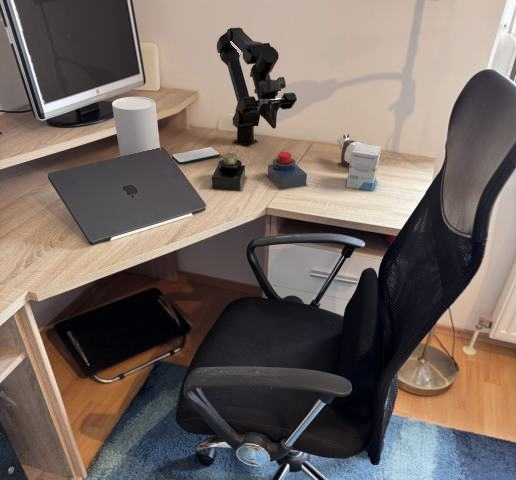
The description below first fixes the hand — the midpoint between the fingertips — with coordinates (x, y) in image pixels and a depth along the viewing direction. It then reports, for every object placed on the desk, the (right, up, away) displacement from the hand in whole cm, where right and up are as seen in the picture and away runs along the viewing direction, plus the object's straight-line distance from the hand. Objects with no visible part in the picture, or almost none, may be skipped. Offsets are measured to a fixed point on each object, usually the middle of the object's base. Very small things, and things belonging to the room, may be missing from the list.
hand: (274, 127), depth 164 cm
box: (+4, -17, +1) cm, 18 cm away
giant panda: (+27, -8, +12) cm, 31 cm away
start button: (+3, -12, -1) cm, 12 cm away
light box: (-15, -18, -1) cm, 24 cm away
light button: (-14, -13, -3) cm, 19 cm away
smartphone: (-28, -4, +14) cm, 31 cm away
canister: (-46, -9, +8) cm, 47 cm away
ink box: (+29, -18, +1) cm, 34 cm away
